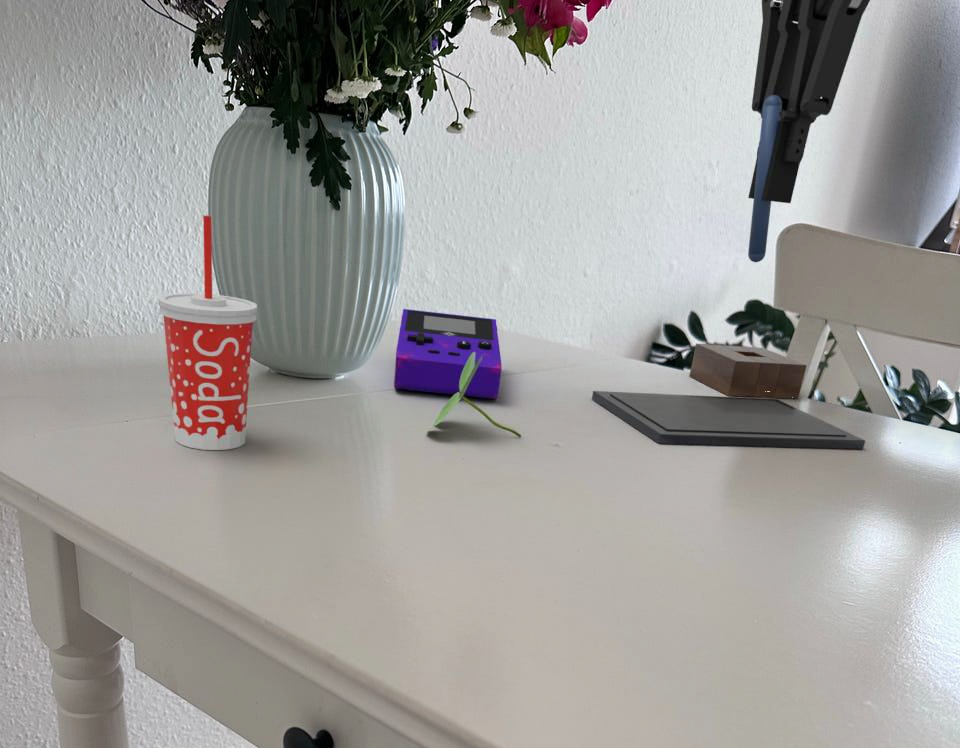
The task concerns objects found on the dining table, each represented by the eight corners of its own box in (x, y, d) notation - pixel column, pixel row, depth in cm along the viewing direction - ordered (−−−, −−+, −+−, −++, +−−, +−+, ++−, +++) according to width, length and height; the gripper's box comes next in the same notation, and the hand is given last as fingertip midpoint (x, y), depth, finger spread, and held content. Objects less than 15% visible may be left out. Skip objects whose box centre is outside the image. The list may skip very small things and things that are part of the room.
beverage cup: (152, 448, 62) (142, 213, 56) (175, 423, 68) (169, 206, 61) (247, 457, 63) (248, 225, 56) (263, 432, 68) (266, 218, 62)
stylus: (758, 260, 93) (776, 94, 86) (767, 262, 92) (786, 94, 85) (744, 261, 93) (760, 95, 86) (752, 263, 92) (770, 95, 85)
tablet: (775, 407, 96) (777, 398, 95) (863, 449, 84) (866, 439, 83) (591, 399, 89) (592, 389, 89) (658, 443, 78) (660, 433, 77)
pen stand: (755, 379, 107) (763, 347, 106) (798, 399, 100) (807, 365, 99) (689, 376, 105) (695, 343, 103) (728, 395, 98) (736, 361, 96)
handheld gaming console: (394, 351, 81) (402, 303, 93) (390, 411, 84) (399, 357, 96) (504, 363, 81) (498, 314, 94) (496, 422, 84) (491, 367, 97)
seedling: (474, 495, 76) (407, 446, 74) (516, 421, 79) (453, 372, 77) (518, 465, 70) (446, 409, 68) (561, 386, 73) (493, 330, 71)
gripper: (752, -105, 84) (695, 190, 95) (857, -140, 72) (779, 203, 83) (823, -88, 87) (760, 198, 97) (936, -119, 75) (850, 211, 85)
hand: (769, 200), depth 90 cm, fingers closed on stylus, 1 cm apart
